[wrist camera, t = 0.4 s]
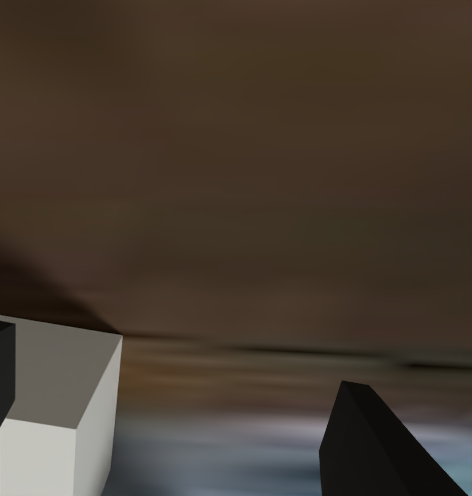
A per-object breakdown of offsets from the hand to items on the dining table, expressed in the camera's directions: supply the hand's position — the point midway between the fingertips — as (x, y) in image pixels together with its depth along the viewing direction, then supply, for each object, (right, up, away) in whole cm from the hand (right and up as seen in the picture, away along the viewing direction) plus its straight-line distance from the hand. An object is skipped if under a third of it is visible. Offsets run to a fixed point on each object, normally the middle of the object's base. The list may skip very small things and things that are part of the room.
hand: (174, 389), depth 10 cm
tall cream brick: (-8, -4, +13) cm, 16 cm away
